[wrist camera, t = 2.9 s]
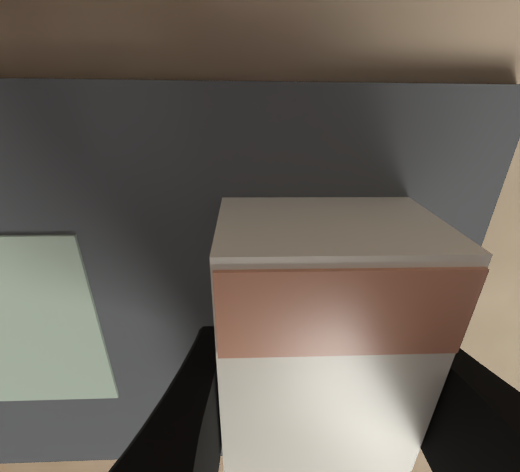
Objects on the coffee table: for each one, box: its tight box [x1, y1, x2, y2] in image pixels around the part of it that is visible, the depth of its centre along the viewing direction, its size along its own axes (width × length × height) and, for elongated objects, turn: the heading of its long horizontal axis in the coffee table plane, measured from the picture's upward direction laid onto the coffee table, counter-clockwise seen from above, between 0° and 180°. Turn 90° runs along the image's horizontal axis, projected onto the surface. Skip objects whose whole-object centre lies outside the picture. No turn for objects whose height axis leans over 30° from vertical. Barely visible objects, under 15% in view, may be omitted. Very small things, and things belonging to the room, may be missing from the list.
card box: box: [209, 197, 493, 472], centre depth 9 cm, size 8×5×3 cm, turn 179°
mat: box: [0, 78, 520, 463], centre depth 10 cm, size 22×14×1 cm, turn 89°
